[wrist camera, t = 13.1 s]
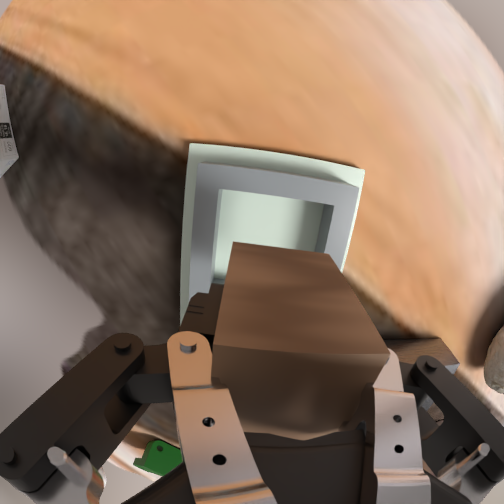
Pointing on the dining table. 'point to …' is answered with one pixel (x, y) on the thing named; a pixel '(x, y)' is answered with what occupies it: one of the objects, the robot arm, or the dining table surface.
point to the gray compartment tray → (261, 209)
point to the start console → (417, 347)
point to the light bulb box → (6, 136)
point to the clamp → (159, 458)
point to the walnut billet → (293, 342)
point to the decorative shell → (495, 363)
